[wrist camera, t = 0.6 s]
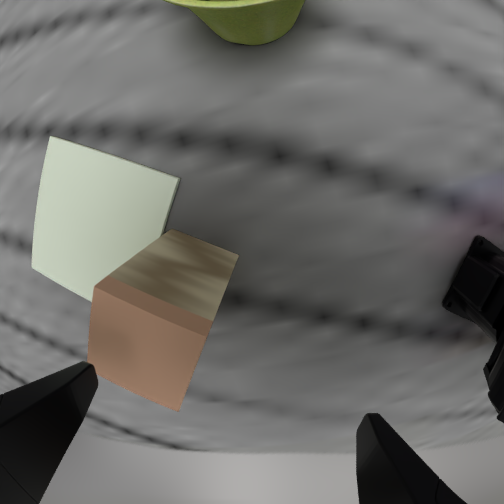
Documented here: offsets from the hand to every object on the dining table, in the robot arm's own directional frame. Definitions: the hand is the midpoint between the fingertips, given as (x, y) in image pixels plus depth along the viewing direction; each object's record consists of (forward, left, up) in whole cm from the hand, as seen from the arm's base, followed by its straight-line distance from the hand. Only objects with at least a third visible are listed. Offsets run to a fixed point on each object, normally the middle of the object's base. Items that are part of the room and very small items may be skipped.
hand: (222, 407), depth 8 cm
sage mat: (+13, +2, -13) cm, 18 cm away
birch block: (+4, +2, -13) cm, 14 cm away
